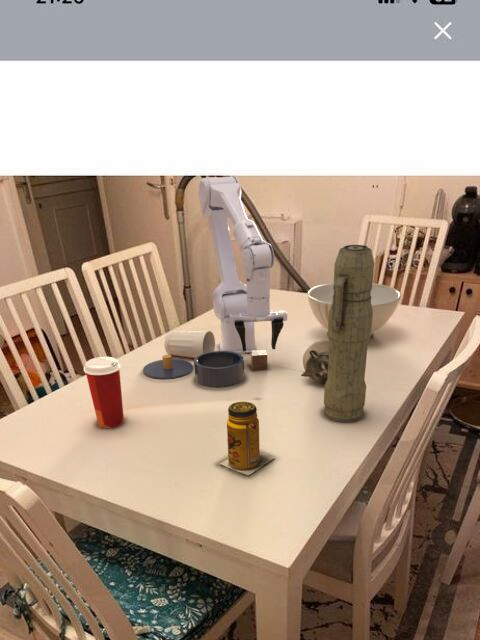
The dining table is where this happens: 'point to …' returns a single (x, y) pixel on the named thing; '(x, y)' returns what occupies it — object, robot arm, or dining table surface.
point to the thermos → (349, 334)
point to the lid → (168, 368)
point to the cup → (189, 343)
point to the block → (258, 359)
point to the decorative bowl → (381, 300)
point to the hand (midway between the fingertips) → (258, 349)
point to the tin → (219, 369)
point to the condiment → (244, 439)
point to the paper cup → (105, 390)
